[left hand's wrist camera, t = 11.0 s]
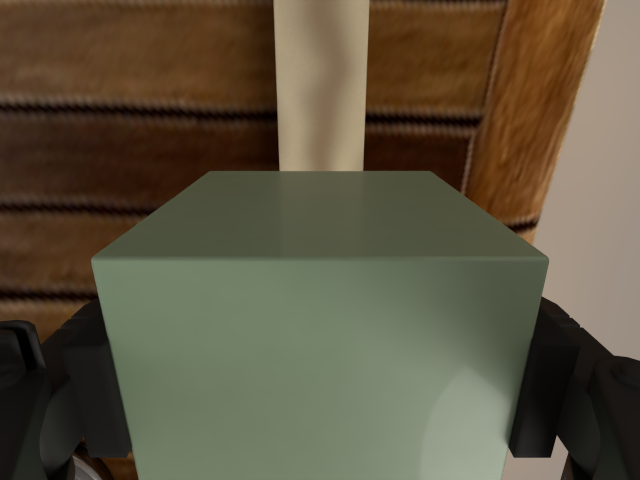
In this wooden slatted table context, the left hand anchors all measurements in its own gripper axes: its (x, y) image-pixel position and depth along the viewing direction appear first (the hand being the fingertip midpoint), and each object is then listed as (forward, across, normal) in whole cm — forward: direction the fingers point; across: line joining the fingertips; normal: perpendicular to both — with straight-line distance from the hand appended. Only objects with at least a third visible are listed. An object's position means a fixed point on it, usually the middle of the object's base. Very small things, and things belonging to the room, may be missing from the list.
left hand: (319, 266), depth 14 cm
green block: (+2, 0, 0) cm, 2 cm away
